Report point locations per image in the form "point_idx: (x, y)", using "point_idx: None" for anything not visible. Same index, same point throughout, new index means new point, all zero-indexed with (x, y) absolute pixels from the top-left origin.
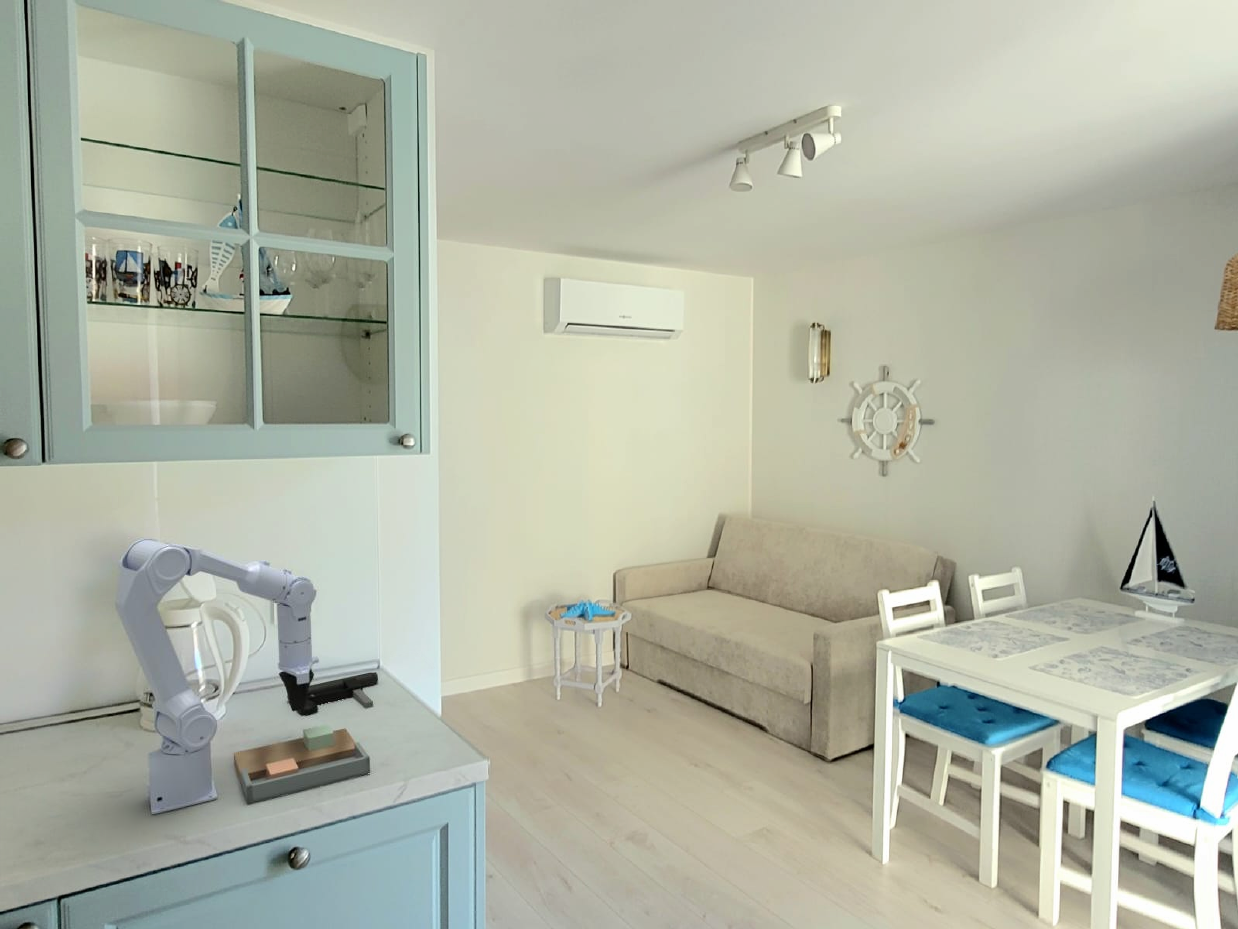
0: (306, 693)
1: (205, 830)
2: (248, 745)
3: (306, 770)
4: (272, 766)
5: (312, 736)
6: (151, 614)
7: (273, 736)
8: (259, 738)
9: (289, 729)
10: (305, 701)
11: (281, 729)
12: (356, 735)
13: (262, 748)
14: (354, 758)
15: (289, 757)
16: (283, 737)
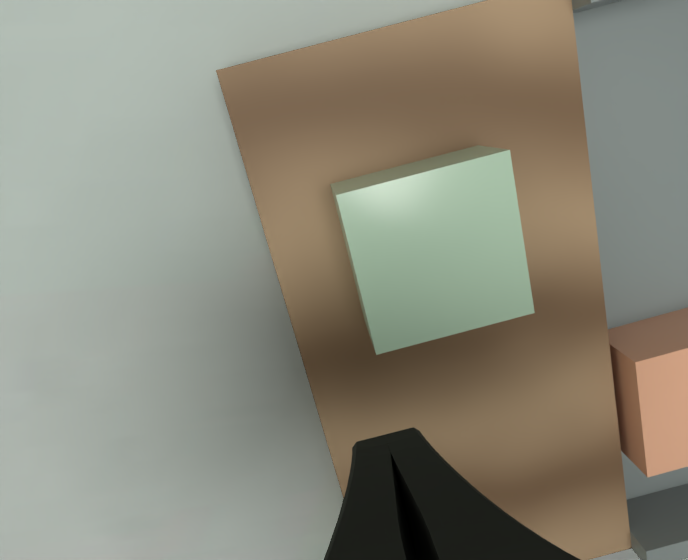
0: (499, 509)
1: None
2: (185, 553)
3: (611, 276)
4: (686, 446)
5: (515, 289)
6: None
7: (97, 465)
8: (109, 522)
9: (13, 401)
10: (437, 456)
11: (5, 440)
12: (194, 3)
13: None
14: (580, 21)
15: (536, 375)
16: (123, 418)
